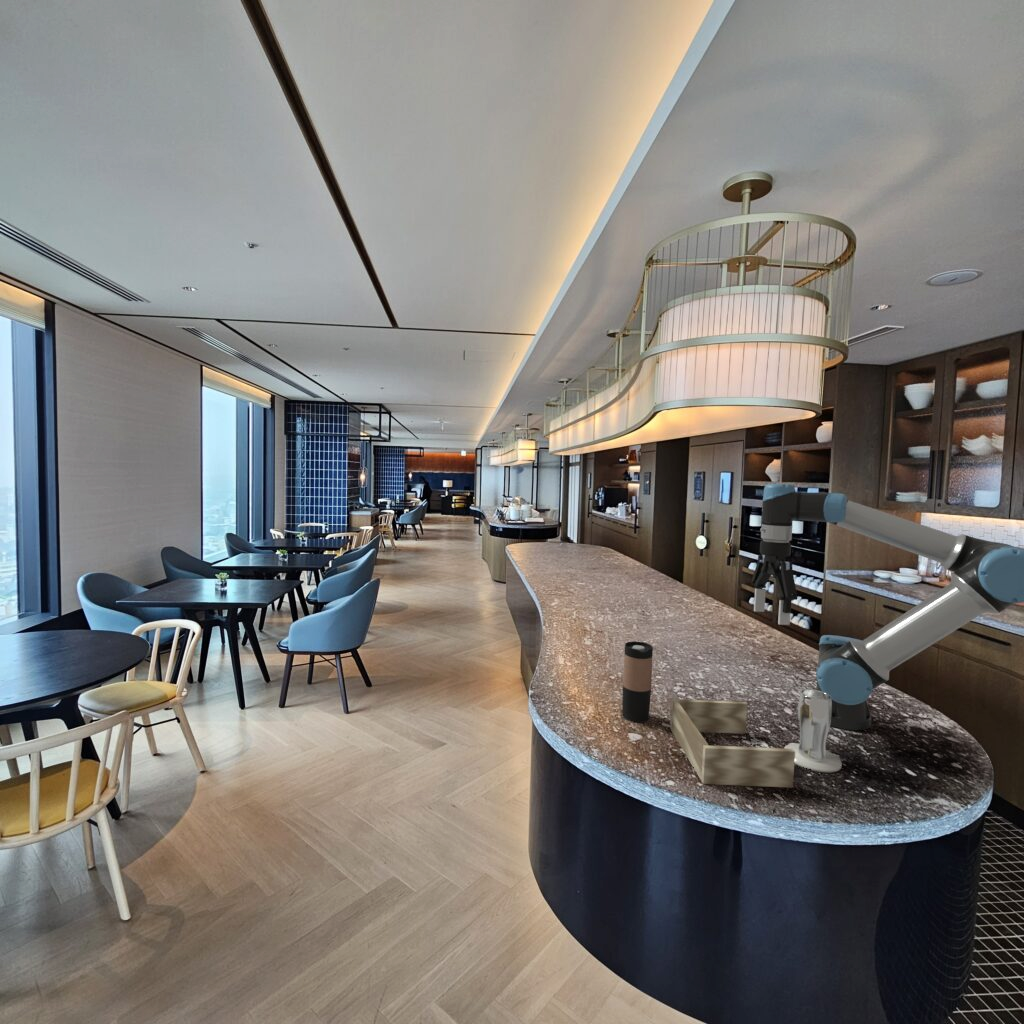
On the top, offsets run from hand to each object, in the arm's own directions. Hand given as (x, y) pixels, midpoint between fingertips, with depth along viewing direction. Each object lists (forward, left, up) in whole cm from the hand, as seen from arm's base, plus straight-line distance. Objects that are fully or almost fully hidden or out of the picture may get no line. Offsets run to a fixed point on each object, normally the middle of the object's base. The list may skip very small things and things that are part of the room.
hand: (770, 617), depth 145 cm
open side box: (+18, +20, -29) cm, 40 cm away
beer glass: (-2, +20, -28) cm, 35 cm away
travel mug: (+36, +1, -29) cm, 46 cm away
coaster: (-2, +20, -29) cm, 35 cm away
